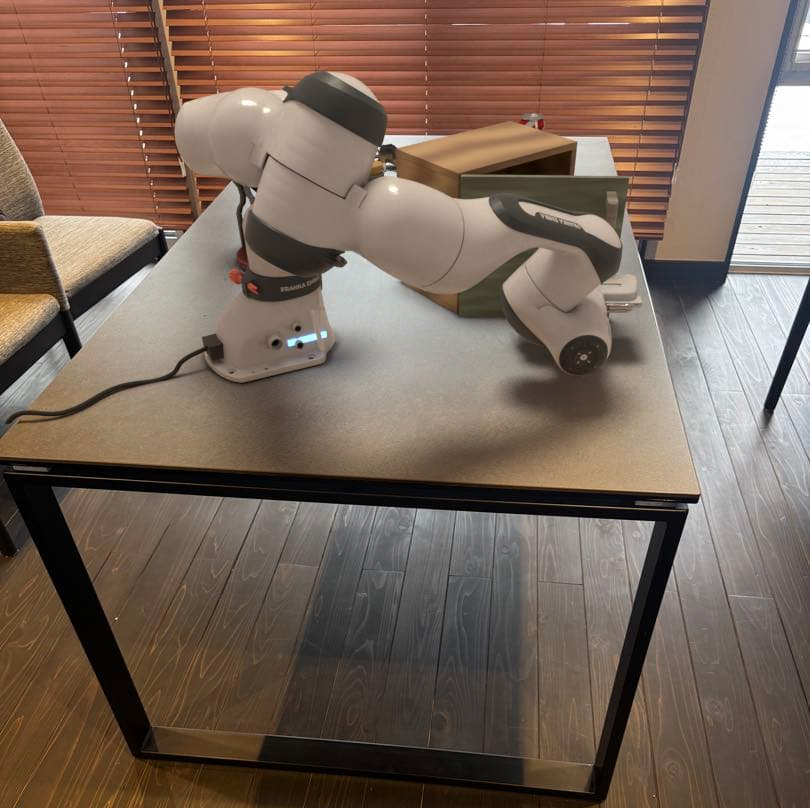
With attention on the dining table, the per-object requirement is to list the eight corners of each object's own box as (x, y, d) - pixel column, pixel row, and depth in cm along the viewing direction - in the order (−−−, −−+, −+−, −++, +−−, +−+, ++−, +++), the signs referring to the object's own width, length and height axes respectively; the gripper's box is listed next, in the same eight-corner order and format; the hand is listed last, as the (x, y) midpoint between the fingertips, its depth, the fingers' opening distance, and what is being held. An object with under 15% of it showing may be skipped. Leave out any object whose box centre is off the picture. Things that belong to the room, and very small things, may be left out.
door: (610, 336, 135) (632, 190, 119) (456, 331, 139) (458, 188, 123) (607, 318, 140) (629, 175, 124) (459, 313, 144) (461, 174, 128)
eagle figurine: (367, 170, 204) (400, 163, 201) (364, 141, 203) (398, 134, 201) (376, 178, 211) (408, 172, 209) (373, 150, 210) (406, 144, 208)
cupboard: (563, 276, 155) (577, 141, 138) (456, 314, 144) (458, 173, 128) (503, 248, 166) (510, 120, 150) (400, 282, 155) (395, 148, 139)
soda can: (511, 165, 207) (513, 115, 199) (533, 161, 209) (536, 111, 200) (524, 172, 202) (527, 121, 194) (547, 168, 204) (551, 117, 196)
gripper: (647, 289, 121) (636, 253, 132) (513, 288, 123) (512, 253, 133) (640, 327, 125) (630, 290, 136) (511, 325, 127) (510, 288, 138)
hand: (571, 271), depth 135 cm, fingers closed
